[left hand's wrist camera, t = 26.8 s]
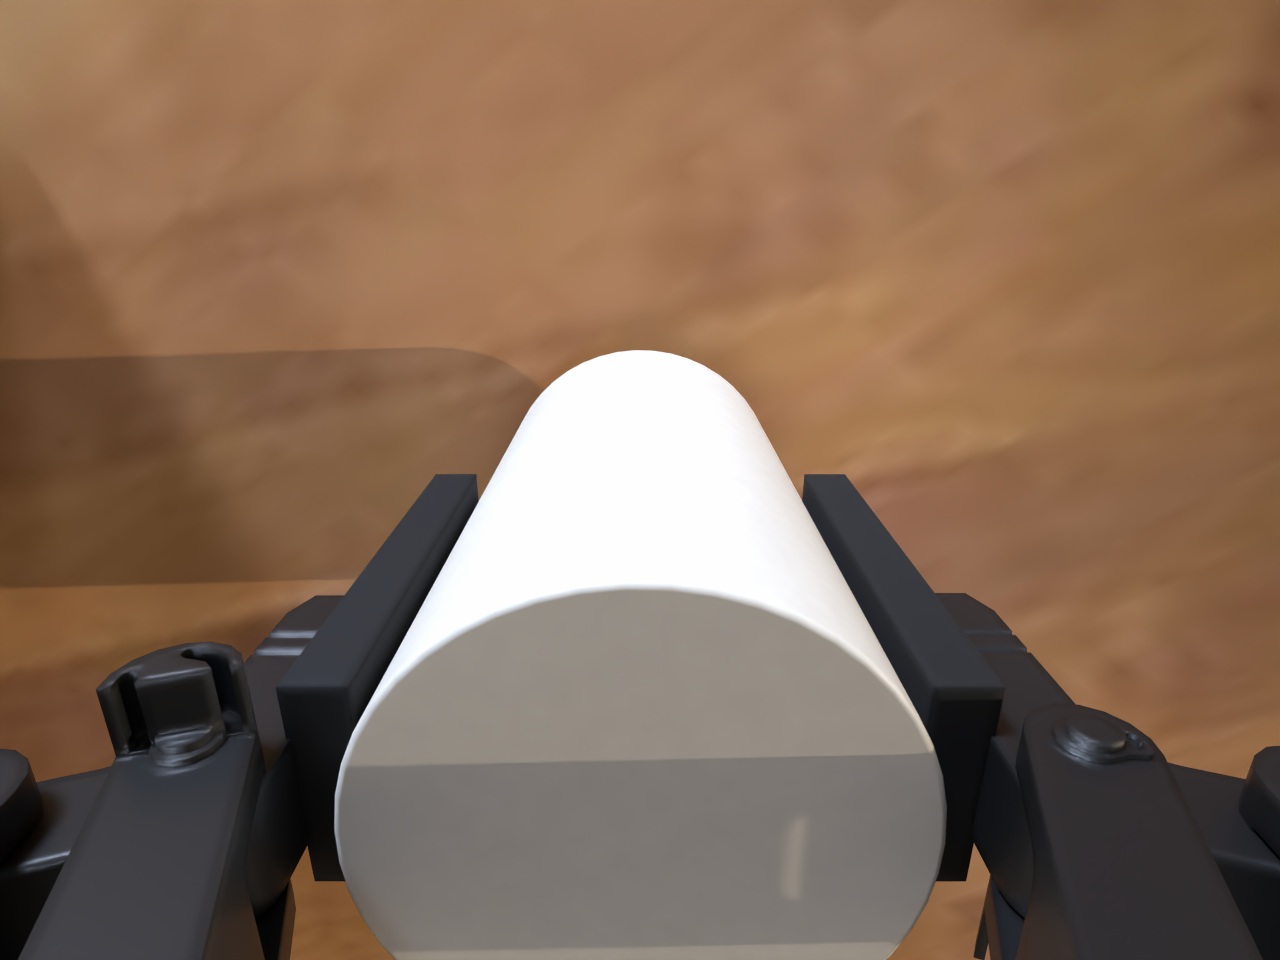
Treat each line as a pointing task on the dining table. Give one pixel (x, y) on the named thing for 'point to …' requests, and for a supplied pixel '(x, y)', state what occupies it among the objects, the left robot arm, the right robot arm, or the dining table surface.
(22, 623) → the dining table surface
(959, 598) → the left robot arm
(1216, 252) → the dining table surface
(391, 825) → the cylinder
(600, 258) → the dining table surface
